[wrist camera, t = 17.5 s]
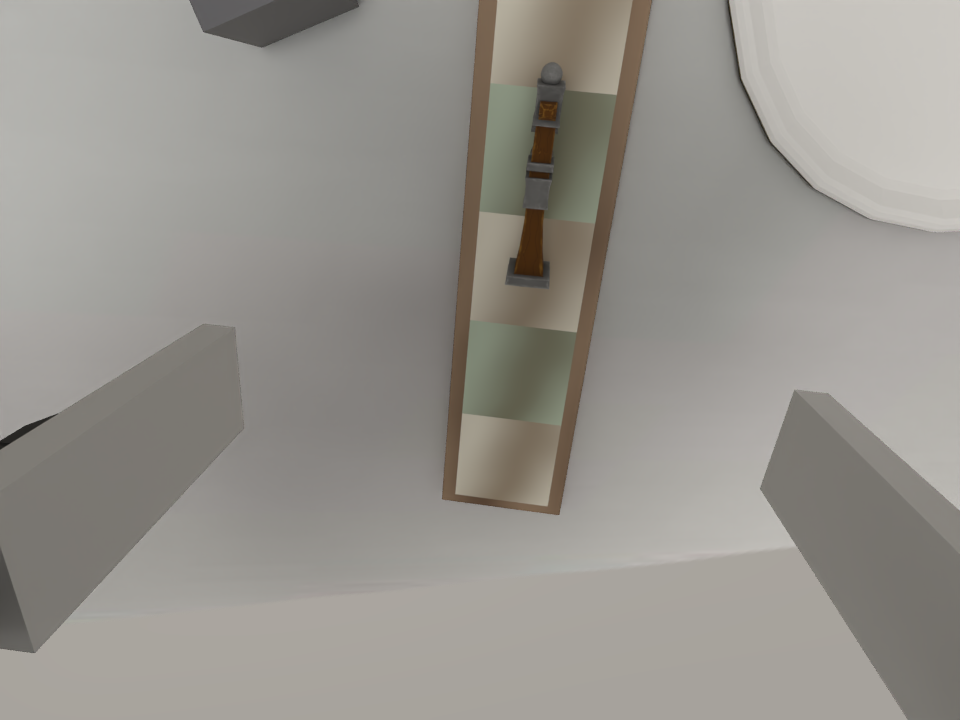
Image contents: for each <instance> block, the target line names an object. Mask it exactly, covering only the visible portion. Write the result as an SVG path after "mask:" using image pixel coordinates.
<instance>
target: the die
mask: <svg viewBox="0 0 960 720" xmlns="http://www.w3.org/2000/svg"><path fill="white" fill-rule="evenodd" d="M190 3H191V5H192V7H193V10H194V12H195V14H196V16H197V19H198V21H199V23H200V25H201V28H202V30H203V32H205V33H209V34H213V35H216V36H220V37H224V38H228V39H232V40H235V41H239V42H243V43H247V44H250V45H254V46H258V47H264V46H267V45H269V44H272V43H274V42H276V41H279V40H281V39H283V38H286V37H288V36H291V35H293V34H295V33H298V32H300V31H302V30H305V29H307V28H309V27H312V26H314V25H317V24H319V23H321V22H324V21H326V20H328V19H331V18H333V17H335V16H338V15H340V14H343V13H345V12H347V11H350V10H352V9H354V8H357V7H359V5H358V2H357V0H190Z"/></svg>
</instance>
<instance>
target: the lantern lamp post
mask: <svg viewBox="0 0 960 720" xmlns="http://www.w3.org/2000/svg"><path fill="white" fill-rule="evenodd" d="M562 76H563V71H562V68H561V67H560V65H559V64H557V63H555V62H550V63H548V64H546V65H545V66H544V67H543V69H542V71H541V78H538V80H537V97H536V106H535V112H534V115H533V122H532V128H531V132H535V136H534V143H533V147H532V149H531V153H530V155H528V161H527V167H526V176H525V182H526V188H525V196H524V200H523V207H522V208H526V210H525V219H524V225H523V230H522V235H521V241H520V246H519V250H518V254H517V258H511V257H510V259H509V264H508V269H507V275H506V281H505V285H510V286H520V287H530V288H539V289H549V284H550V261H543V219H544V210H548V197H549V190H550V186H551V183H552V173H553V172H554V157H553V153H554V151H553V143H554V136H555V134H558V128H560V115H561V109H562V102H563V95H564V92H565V89H566V82H565V81H564V80H561V79H562Z"/></svg>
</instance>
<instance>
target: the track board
mask: <svg viewBox="0 0 960 720" xmlns="http://www.w3.org/2000/svg"><path fill="white" fill-rule="evenodd" d="M651 3H652V0H479V9H478V22H477V36H476V49H475V63H474V76H473V89H472V103H471V116H470V130H469V143H468V157H467V170H466V184H465V197H464V211H463V224H462V238H461V251H460V265H459V278H458V292H457V305H456V318H455V332H454V345H453V359H452V372H451V386H450V399H449V413H448V426H447V440H446V453H445V467H444V480H443V494H442V499H443V500H451V501H458V502H465V503H473V504H480V505H488V506H495V507H503V508H510V509H517V510H525V511H532V512H540V513H547V514H555V515H559V514H560V508H561V502H562V497H563V491H564V486H565V480H566V475H567V469H568V464H569V458H570V452H571V447H572V441H573V436H574V430H575V425H576V419H577V414H578V408H579V402H580V397H581V391H582V386H583V380H584V375H585V369H586V364H587V358H588V352H589V347H590V341H591V336H592V330H593V325H594V319H595V314H596V308H597V302H598V297H599V291H600V286H601V280H602V275H603V269H604V264H605V258H606V252H607V247H608V241H609V236H610V230H611V225H612V219H613V214H614V208H615V202H616V197H617V191H618V186H619V180H620V175H621V169H622V164H623V158H624V153H625V147H626V141H627V136H628V130H629V125H630V119H631V114H632V108H633V103H634V97H635V91H636V86H637V80H638V75H639V69H640V64H641V58H642V53H643V47H644V41H645V36H646V30H647V25H648V19H649V14H650V8H651ZM550 62H555V63H557V64H559V65H560V67H561V68H562V71H563V76H562V79H561V80H564V81H565V82H566V89H565V92H564V95H563V102H562V109H561V115H560V128H558V134H555V136H554V143H553V151H554V153H553V157H554V172H553V173H552V183H551V186H550V190H549V197H548V210H544V219H543V261H550V284H549V289H539V288H530V287H520V286H510V285H505V281H506V275H507V269H508V264H509V259H510V257H511V258H517V254H518V250H519V246H520V241H521V235H522V230H523V225H524V219H525V210H526V208H522V207H523V200H524V196H525V188H526V182H525V176H526V167H527V161H528V155H530V153H531V149H532V147H533V143H534V136H535V132H531V128H532V122H533V115H534V112H535V106H536V97H537V80H538V78H541V71H542V69H543V67H544V66H545V65H546V64H548V63H550Z"/></svg>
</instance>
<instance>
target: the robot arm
mask: <svg viewBox="0 0 960 720" xmlns="http://www.w3.org/2000/svg"><path fill="white" fill-rule="evenodd" d="M243 429H244V422H243V411H242V400H241V389H240V379H239V368H238V357H237V346H236V335H235V327H226V326H217V325H208V324H202V325H201V326H199V327H198V328H196V329H194V330H193V331H191V332H190V333H188V334H186V335H185V336H183V337H181V338H180V339H178V340H177V341H175V342H173V343H172V344H170V345H169V346H167V347H165V348H164V349H162V350H161V351H159V352H157V353H156V354H154V355H152V356H151V357H149V358H148V359H146V360H144V361H143V362H141V363H140V364H138V365H136V366H135V367H133V368H131V369H130V370H128V371H127V372H125V373H123V374H122V375H120V376H119V377H117V378H115V379H114V380H112V381H110V382H109V383H107V384H106V385H104V386H102V387H101V388H99V389H98V390H96V391H94V392H93V393H91V394H89V395H88V396H86V397H85V398H83V399H81V400H80V401H78V402H77V403H75V404H73V405H72V406H70V407H68V408H67V409H65V410H64V411H62V412H60V413H59V414H56V415H53V416H50V417H47V418H45V419H42V420H39V421H37V422H34V423H31V424H29V425H26V426H24V427H22V428H21V429H19V430H17V431H16V432H14V433H12V434H11V435H9V436H7V437H6V438H4V439H2V440H1V441H0V649H8V650H15V651H22V652H30V653H35V652H36V651H37V650H38V649H39V648H40V647H41V646H42V645H43V644H44V643H45V642H46V641H47V640H48V638H49V637H50V636H51V635H52V634H53V633H54V632H55V631H56V630H57V629H58V628H59V627H60V626H61V624H62V623H63V622H64V621H65V620H66V619H67V618H68V617H69V616H70V615H71V614H72V613H73V612H74V610H75V609H76V608H77V607H78V606H79V605H80V604H81V603H82V602H83V601H84V600H85V599H86V598H87V596H88V595H89V594H90V593H91V592H92V591H93V590H94V589H95V588H96V587H97V586H98V585H99V584H100V582H101V581H102V580H103V579H104V578H105V577H106V576H107V575H108V574H109V573H110V572H111V571H112V570H113V568H114V567H115V566H116V565H117V564H118V563H119V562H120V561H121V560H122V559H123V558H124V557H125V556H126V554H127V553H128V552H129V551H130V550H131V549H132V548H133V547H134V546H135V545H136V544H137V543H138V542H139V540H140V539H141V538H142V537H143V536H144V535H145V534H146V533H147V532H148V531H149V530H150V529H151V528H152V526H153V525H154V524H155V523H156V522H157V521H158V520H159V519H160V518H161V517H162V516H163V515H164V514H165V512H166V511H167V510H168V509H169V508H170V507H171V506H172V505H173V504H174V503H175V502H176V501H177V500H178V499H179V497H180V496H181V495H182V494H183V493H184V492H185V491H186V490H187V489H188V488H189V487H190V486H191V485H192V483H193V482H194V481H195V480H196V479H197V478H198V477H199V476H200V475H201V474H202V473H203V472H204V471H205V469H206V468H207V467H208V466H209V465H210V464H211V463H212V462H213V461H214V460H215V459H216V458H217V457H218V455H219V454H220V453H221V452H222V451H223V450H224V449H225V448H226V447H227V446H228V445H229V444H230V443H231V441H232V440H233V439H234V438H235V437H236V436H237V435H238V434H239V433H240V432H241V431H242V430H243ZM760 490H761V491H762V493H763V494H764V496H765V497H766V499H767V501H768V502H769V504H770V505H771V507H772V508H773V510H774V511H775V513H776V515H777V516H778V518H779V519H780V521H781V522H782V524H783V526H784V527H785V529H786V530H787V532H788V533H789V535H790V536H791V538H792V540H793V541H794V543H795V544H796V546H797V547H798V549H799V550H800V552H801V553H802V555H803V557H804V558H805V560H806V561H807V563H808V565H809V566H810V568H811V569H812V571H813V572H814V573H815V576H816V577H817V579H818V580H819V582H820V583H821V585H822V586H823V588H824V589H825V591H826V592H827V594H828V596H829V597H830V599H831V600H832V602H833V604H834V605H835V607H836V608H837V610H838V611H839V613H840V614H841V616H842V618H843V619H844V621H845V622H846V624H847V625H848V627H849V629H850V630H851V632H852V633H853V635H854V636H855V638H856V639H857V641H858V643H859V644H860V646H861V647H862V649H863V650H864V652H865V654H866V655H867V657H868V658H869V660H870V661H871V663H872V665H873V666H874V668H875V669H876V671H877V672H878V674H879V675H880V677H881V679H882V680H883V682H884V683H885V685H886V687H887V688H888V690H889V691H890V693H891V694H892V696H893V697H894V699H895V700H896V702H897V704H898V705H899V707H900V708H901V710H902V711H903V713H904V714H905V716H906V718H907V719H908V720H960V511H959V510H958V509H957V508H956V507H955V506H954V505H953V504H951V503H950V502H949V501H948V500H947V499H946V498H945V497H944V496H943V495H941V494H940V493H939V492H938V491H937V490H936V489H935V488H934V487H932V486H931V485H930V484H929V483H928V482H927V481H926V480H925V479H923V478H922V477H921V476H920V475H919V474H918V473H917V472H916V471H915V470H913V469H912V468H911V467H910V466H909V465H908V464H907V463H906V462H904V461H903V460H902V459H901V458H900V457H899V456H898V455H897V454H895V453H894V452H893V451H892V450H891V449H890V448H889V447H888V446H887V445H885V444H884V443H883V442H882V441H881V440H880V439H879V438H878V437H876V436H875V435H874V434H873V433H872V432H871V431H870V430H869V429H868V428H866V427H865V426H864V425H863V424H862V423H861V422H860V421H859V420H857V419H856V418H855V417H854V416H853V415H852V414H851V413H850V412H848V411H847V410H846V409H845V408H844V407H843V406H842V405H841V404H840V403H838V402H837V401H836V400H835V399H834V398H833V397H832V396H831V395H829V394H828V393H819V392H810V391H801V390H794V393H793V396H792V398H791V401H790V404H789V407H788V410H787V413H786V416H785V419H784V421H783V424H782V427H781V430H780V433H779V436H778V439H777V441H776V444H775V447H774V450H773V453H772V456H771V459H770V462H769V464H768V467H767V470H766V473H765V476H764V479H763V482H762V485H761V487H760Z"/></svg>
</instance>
